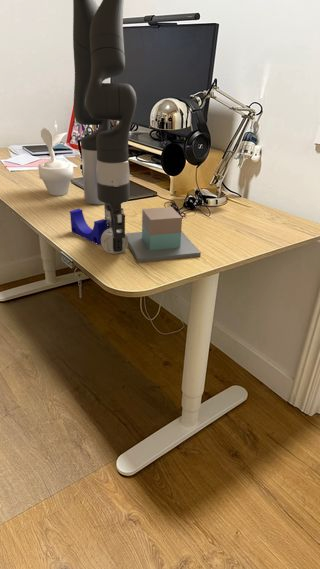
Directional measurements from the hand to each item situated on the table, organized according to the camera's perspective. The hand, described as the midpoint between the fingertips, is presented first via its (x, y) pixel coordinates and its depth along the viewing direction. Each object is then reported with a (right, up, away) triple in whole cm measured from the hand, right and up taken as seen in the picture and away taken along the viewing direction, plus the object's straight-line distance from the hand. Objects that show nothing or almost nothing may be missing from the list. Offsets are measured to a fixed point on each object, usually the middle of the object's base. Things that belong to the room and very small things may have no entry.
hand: (114, 244), depth 100 cm
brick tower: (+12, 0, +4) cm, 12 cm away
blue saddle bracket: (-7, +3, +8) cm, 11 cm away
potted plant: (-24, +22, +40) cm, 52 cm away
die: (0, -1, +1) cm, 2 cm away
